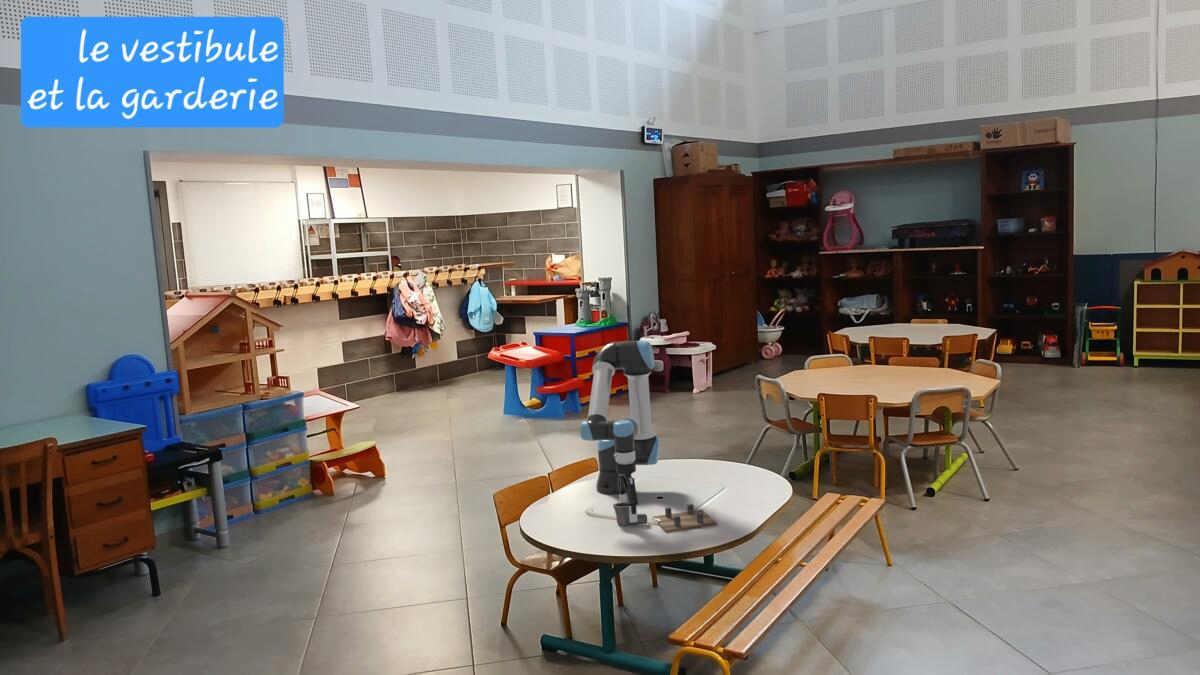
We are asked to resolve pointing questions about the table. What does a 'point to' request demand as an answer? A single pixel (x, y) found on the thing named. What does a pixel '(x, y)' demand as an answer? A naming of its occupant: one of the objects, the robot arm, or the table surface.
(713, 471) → the table surface
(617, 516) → the pipe
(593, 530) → the table surface
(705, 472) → the table surface
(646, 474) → the table surface
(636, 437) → the robot arm
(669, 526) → the collar cradle
